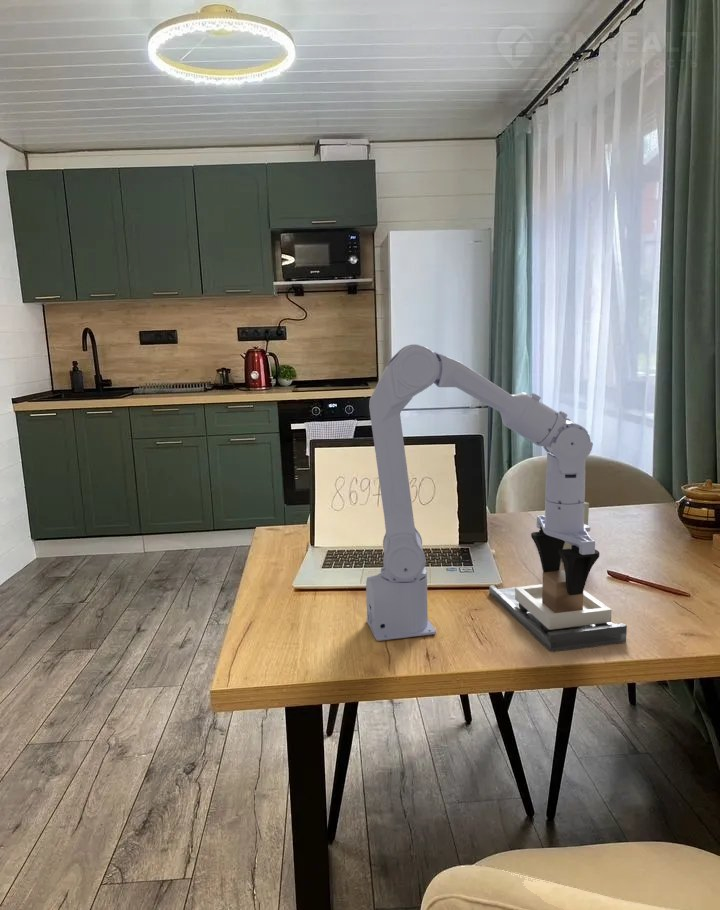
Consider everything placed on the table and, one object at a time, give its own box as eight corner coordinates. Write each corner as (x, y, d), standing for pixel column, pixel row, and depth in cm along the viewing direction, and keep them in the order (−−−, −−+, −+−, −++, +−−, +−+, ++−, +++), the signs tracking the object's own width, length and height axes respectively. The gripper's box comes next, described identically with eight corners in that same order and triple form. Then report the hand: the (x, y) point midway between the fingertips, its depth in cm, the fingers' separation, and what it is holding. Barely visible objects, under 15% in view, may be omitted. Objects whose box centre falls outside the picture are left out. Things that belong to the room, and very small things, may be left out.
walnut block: (555, 613, 102) (556, 582, 101) (542, 602, 106) (542, 572, 105) (582, 610, 103) (583, 579, 102) (568, 599, 107) (568, 569, 106)
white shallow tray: (549, 639, 99) (549, 617, 98) (514, 607, 110) (515, 587, 109) (610, 631, 100) (611, 609, 100) (570, 601, 112) (571, 581, 111)
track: (550, 652, 96) (550, 635, 96) (489, 593, 118) (489, 579, 118) (626, 642, 98) (626, 625, 98) (552, 586, 121) (552, 572, 120)
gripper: (615, 509, 95) (612, 599, 97) (565, 487, 109) (563, 566, 112) (570, 513, 94) (567, 604, 96) (525, 490, 108) (523, 570, 110)
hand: (562, 584), depth 104 cm, fingers open, 7 cm apart
